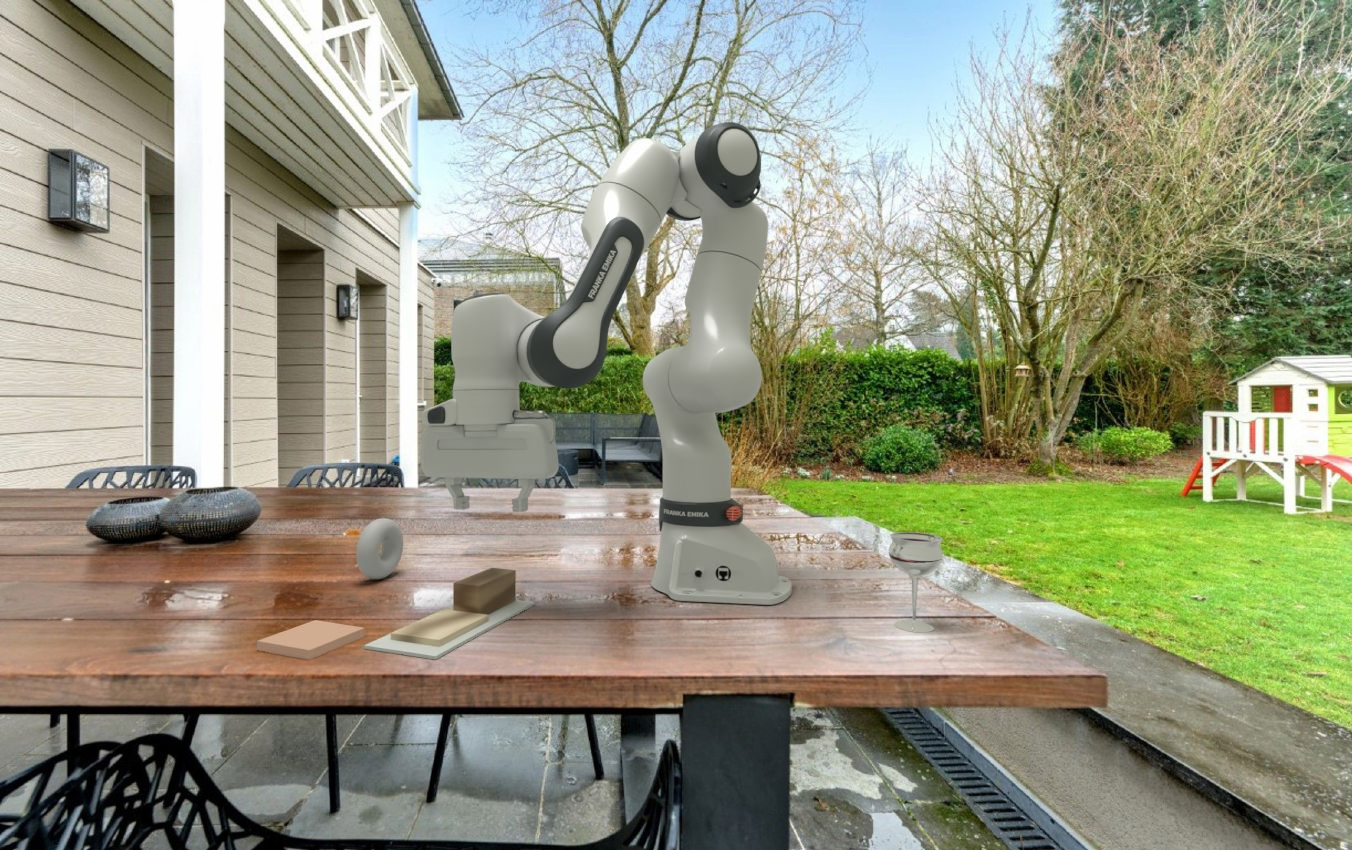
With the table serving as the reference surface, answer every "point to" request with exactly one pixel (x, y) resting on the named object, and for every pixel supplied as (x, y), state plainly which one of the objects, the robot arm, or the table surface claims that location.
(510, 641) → the table surface
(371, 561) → the donut
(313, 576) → the table surface
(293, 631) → the tile
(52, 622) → the table surface
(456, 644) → the mat
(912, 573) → the wineglass
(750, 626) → the table surface
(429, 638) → the stepped slab stack
